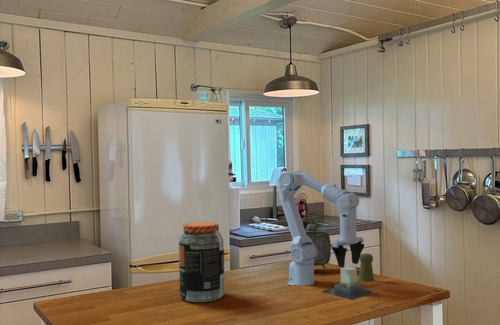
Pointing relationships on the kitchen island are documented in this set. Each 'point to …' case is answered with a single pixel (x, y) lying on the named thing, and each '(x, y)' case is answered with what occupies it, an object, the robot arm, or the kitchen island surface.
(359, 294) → the stand base
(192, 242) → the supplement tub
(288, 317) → the kitchen island surface
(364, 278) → the green pawn
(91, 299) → the kitchen island surface
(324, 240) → the tabletop clock
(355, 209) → the robot arm
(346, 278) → the pale grey block
